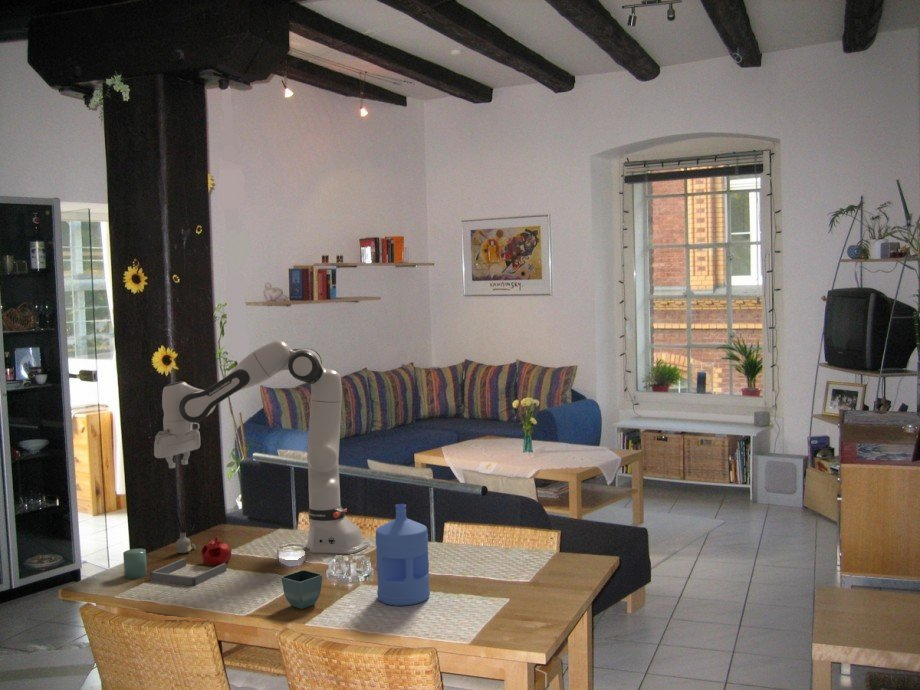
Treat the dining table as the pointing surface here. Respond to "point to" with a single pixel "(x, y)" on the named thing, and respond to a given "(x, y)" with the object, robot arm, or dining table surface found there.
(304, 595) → the flower pot
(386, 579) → the water jug
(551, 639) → the dining table surface
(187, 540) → the reed diffuser
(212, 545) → the pomegranate
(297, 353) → the robot arm
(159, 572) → the grey shallow tray frame
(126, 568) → the rounded teal cylinder
